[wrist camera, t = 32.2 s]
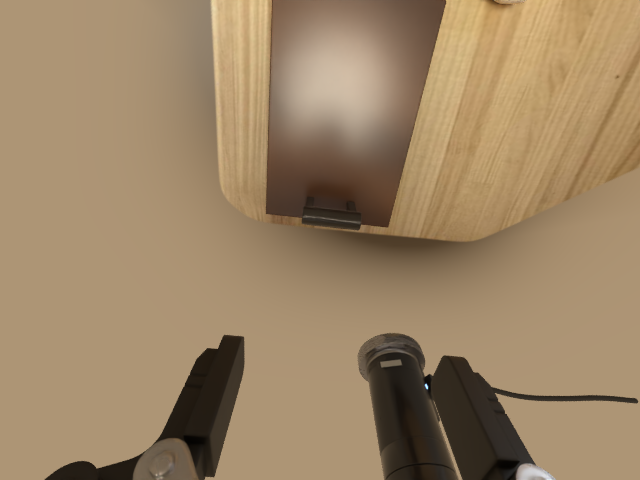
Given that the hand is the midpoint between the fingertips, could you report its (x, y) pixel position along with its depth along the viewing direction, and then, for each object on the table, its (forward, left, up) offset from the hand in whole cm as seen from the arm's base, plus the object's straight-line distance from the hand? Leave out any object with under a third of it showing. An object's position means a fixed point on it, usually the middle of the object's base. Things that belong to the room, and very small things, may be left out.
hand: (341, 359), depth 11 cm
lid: (+3, -6, -19) cm, 21 cm away
